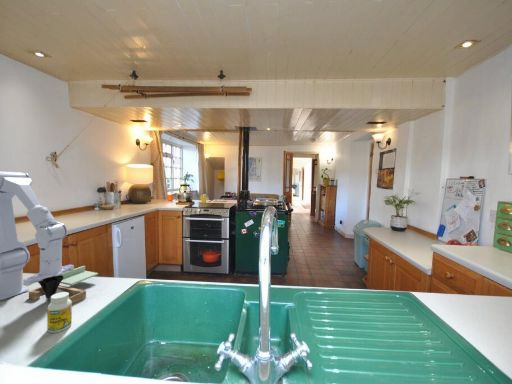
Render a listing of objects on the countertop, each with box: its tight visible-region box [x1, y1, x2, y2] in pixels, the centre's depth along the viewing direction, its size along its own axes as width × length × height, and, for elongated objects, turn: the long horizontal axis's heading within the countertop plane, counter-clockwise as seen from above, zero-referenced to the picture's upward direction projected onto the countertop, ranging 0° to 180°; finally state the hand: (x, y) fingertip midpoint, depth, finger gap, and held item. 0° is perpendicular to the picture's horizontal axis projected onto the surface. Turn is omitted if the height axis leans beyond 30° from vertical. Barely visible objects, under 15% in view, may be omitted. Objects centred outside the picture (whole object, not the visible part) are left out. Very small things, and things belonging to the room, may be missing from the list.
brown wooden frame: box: [28, 284, 87, 305], centre depth 83 cm, size 17×8×3 cm, turn 75°
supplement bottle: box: [46, 292, 73, 334], centre depth 67 cm, size 5×5×10 cm
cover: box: [60, 265, 99, 286], centre depth 92 cm, size 12×9×3 cm
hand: (50, 297), depth 81 cm, fingers closed
